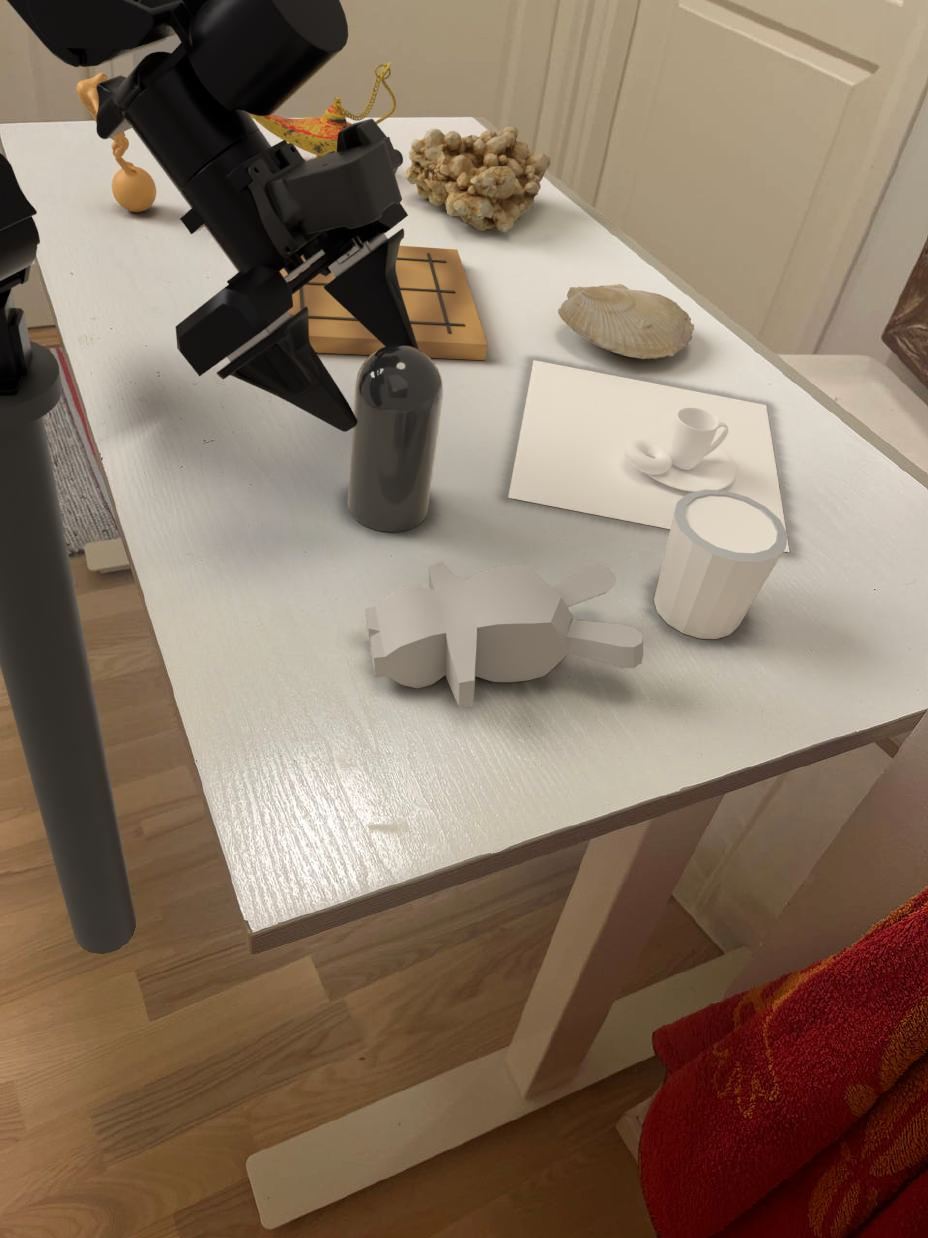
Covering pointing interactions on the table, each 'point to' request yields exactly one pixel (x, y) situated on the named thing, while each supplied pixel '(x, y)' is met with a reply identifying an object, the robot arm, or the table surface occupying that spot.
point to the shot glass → (716, 561)
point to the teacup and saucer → (637, 446)
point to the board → (430, 302)
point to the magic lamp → (322, 123)
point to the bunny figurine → (492, 628)
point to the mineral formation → (477, 175)
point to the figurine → (120, 158)
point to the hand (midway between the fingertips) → (384, 392)
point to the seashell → (627, 320)
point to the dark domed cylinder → (394, 438)
